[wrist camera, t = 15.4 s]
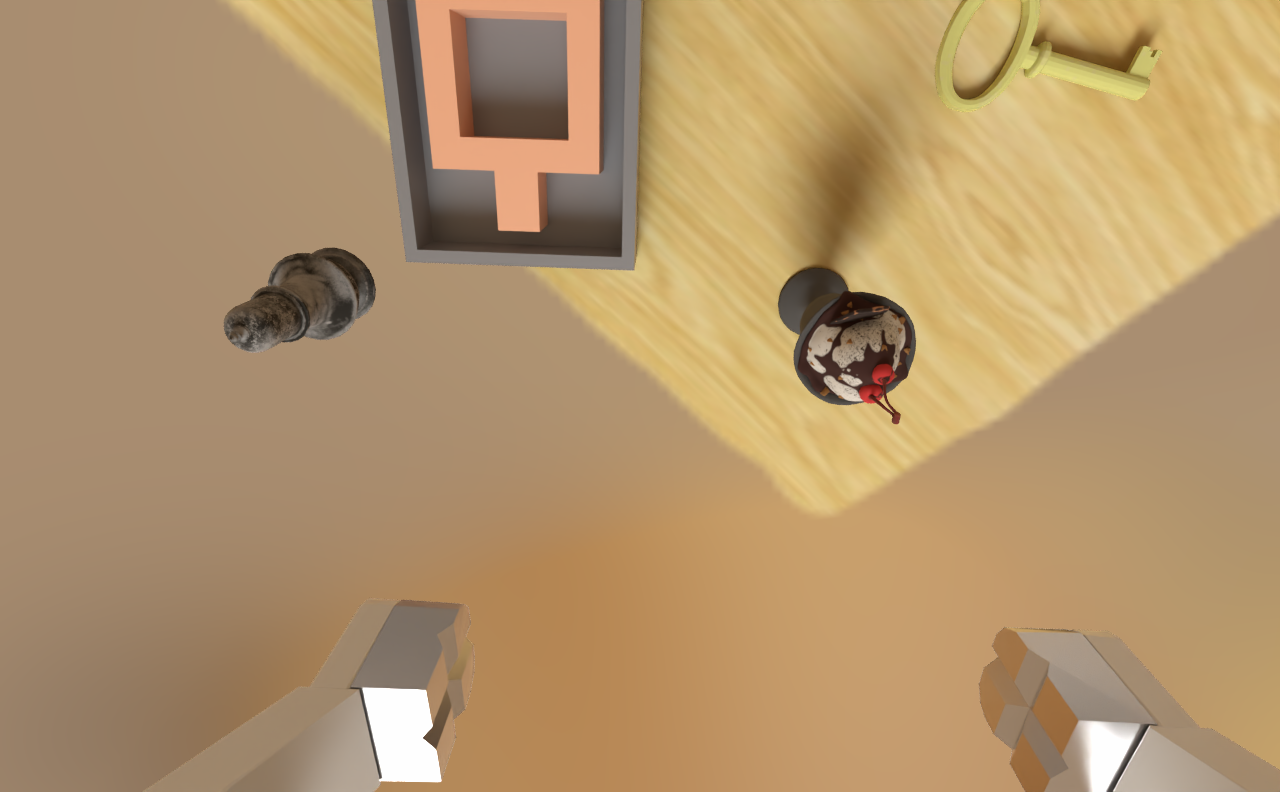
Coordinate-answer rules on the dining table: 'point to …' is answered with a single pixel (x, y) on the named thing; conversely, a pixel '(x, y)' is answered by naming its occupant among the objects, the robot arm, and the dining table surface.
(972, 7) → the key
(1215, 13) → the dining table surface
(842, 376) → the sundae
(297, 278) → the salt shaker
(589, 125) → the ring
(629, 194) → the tray
